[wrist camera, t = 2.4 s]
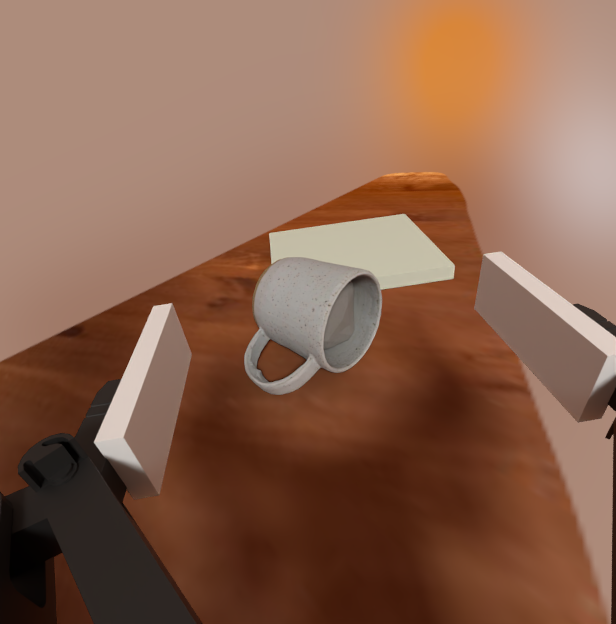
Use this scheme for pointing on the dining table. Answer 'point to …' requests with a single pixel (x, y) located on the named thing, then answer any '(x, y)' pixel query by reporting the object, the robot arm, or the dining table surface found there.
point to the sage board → (369, 249)
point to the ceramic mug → (313, 317)
